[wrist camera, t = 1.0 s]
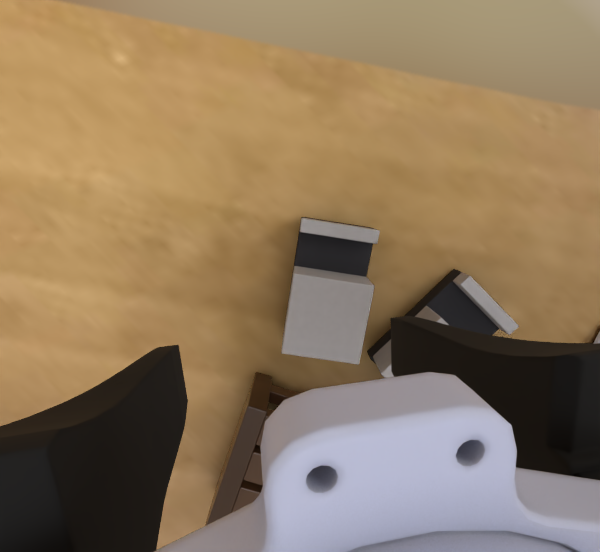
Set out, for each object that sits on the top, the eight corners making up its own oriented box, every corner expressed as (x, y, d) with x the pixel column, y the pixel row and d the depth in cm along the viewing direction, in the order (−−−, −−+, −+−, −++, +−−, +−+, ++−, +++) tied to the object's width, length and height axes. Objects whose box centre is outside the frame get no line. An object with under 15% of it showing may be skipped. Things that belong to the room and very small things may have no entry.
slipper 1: (301, 216, 24) (301, 219, 20) (372, 227, 24) (385, 232, 21) (283, 334, 26) (280, 356, 22) (349, 344, 26) (358, 368, 22)
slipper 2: (453, 268, 25) (481, 280, 21) (499, 315, 26) (533, 334, 22) (366, 351, 26) (377, 376, 22) (412, 394, 27) (430, 425, 23)
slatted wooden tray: (493, 446, 27) (530, 493, 23) (439, 555, 29) (464, 618, 25) (256, 371, 26) (247, 405, 22) (215, 490, 28) (199, 544, 24)
